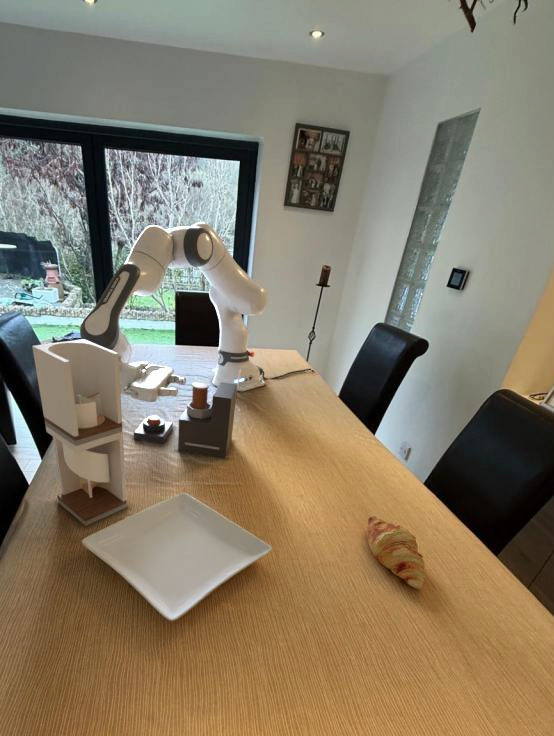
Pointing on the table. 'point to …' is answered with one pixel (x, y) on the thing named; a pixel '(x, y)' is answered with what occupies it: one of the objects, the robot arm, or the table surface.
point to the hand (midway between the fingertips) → (181, 386)
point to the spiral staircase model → (84, 425)
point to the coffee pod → (199, 395)
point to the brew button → (153, 420)
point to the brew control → (153, 431)
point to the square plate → (176, 552)
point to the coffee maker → (209, 424)
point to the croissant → (396, 550)
